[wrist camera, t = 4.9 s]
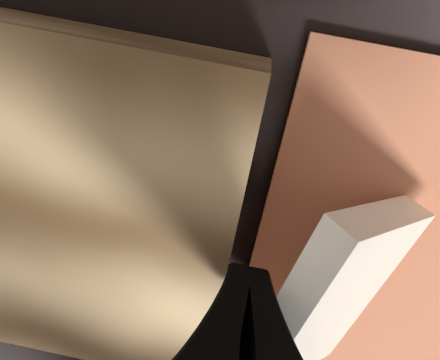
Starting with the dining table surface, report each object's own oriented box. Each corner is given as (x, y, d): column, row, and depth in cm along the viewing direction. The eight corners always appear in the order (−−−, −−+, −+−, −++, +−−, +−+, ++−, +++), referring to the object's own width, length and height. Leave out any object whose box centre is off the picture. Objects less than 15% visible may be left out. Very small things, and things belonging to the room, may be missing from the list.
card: (310, 331, 17) (329, 353, 16) (230, 376, 14) (249, 406, 13) (405, 195, 13) (435, 215, 12) (324, 213, 10) (358, 242, 9)
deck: (209, 338, 18) (201, 385, 16) (21, 298, 19) (-12, 339, 17) (271, 58, 12) (271, 73, 10) (-23, 2, 12) (-87, 5, 10)
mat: (435, 400, 19) (437, 406, 18) (225, 355, 19) (225, 360, 19) (668, 97, 11) (678, 100, 11) (310, 31, 11) (310, 32, 11)
